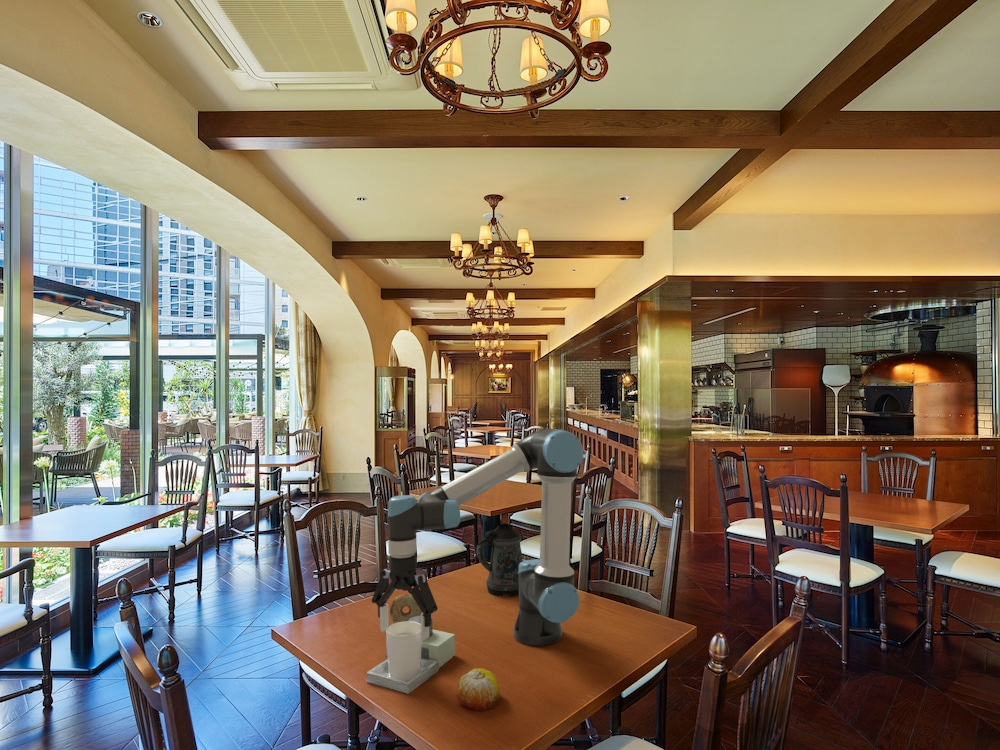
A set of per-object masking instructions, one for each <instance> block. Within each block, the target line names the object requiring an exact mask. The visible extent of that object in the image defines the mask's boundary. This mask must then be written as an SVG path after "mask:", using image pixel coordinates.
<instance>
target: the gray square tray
mask: <svg viewBox="0 0 1000 750" xmlns="http://www.w3.org/2000/svg"><path fill="white" fill-rule="evenodd" d="M439 669H440V667H439V662H438V661H434V660H430V659H426V658H422V657H421V669H420V673H419V674H418V675H417V676H415V677H414V678H412V679H411V680H409V681H402V680H399V679H395V678H391V677H389V670H388V658H386V659H385V660H384V661H382V662H381V663H379V664H377V665H376V666H374V667H373V668H371V669H370V670H368V671H367V672H366V673H365V674H366V679H365V680H366V683H369V684H373V685H376V686H380V687H382V688H387V689H390V690H394V691H396V692H399V693H400V692H401V693H404V694H406V695H408V694H410V693H412V692H413V691H414V690H416V689H417V688H418V687H419V686H420V685H422V684H424V683H425V682H426V681H427V680H428V679H430V678H431V677H432V676H434V675H435V674H436V673H438V672H439V671H440V670H439Z"/></svg>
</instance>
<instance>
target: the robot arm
mask: <svg viewBox="0 0 1000 750" xmlns="http://www.w3.org/2000/svg"><path fill="white" fill-rule="evenodd" d="M583 459H584V447H583V444H582V442H581V441H580V439H579V438H578V437H577V436H576V435H575V434H574V433H572V432H570V431H568V430H565V429H554V428H541V429H539V430H537V431H534V432H533V433H531V434H529V435H527V436H526V437H524V438H522V439H521V440H519V441H517V442H515V443H514V444H512V447H511V449H509V450H506V451H505V452H504V453H503V452H502V453H501V454H499V455H498V456H496V457H494V458H492V459H491V460H489V461H486V462H485V463H483V464H481V465H479V466H477V467H475V468H474V469H472V470H471V471H468V472H467V473H464V474H463V475H461V476H459V477H457V478H456V479H453V480H452V481H450V482H447V483H446V484H444V485H442V486H440V487H439V488H436V489H435V490H433V491H427V492H424V493H422V494H421V495H420V496H419V498H418V499H417V500H416V497H415V496H414V495H412V494H411V495H410V494H408V495H406V494H404V495H401V494H400V495H395V496H392V497H391V498H389V500H388V501H387V502H388V503H387V504H388V505H387V526H388V527H387V531H388V554H389V555H388V567H387V568H384V569H383V570H381V571H380V573H379V574H380V575H379V581H378V583H377V585H376V588H375V591H374V593H373V595H372V598H371V602H372V604H374V603H375V604H376V606H377V616H378V617H377V618H379V629H380V630H379V632H386V629H387V627H388V626H390V624H389V623H390V622H389V620H390V619H389V616H390V615H389V604H388V600H389V599H390V597H391V596H392V594H393V593H394V592H395V591H396V590H397V591H398V590H402V591H405V592H406V591H407V592H408V594H411V595H412V596H413V598H414V600H415V601H416V603H417V604H418V606H419V608H420V609H421V611H422V614H421V640H423V641H424V640H425V639H427V638H428V637H429V626H430V625H431V618H432V614H433V613H435V612H436V611H438V610H439V609H438V605H437V603H436V601H435V598H434V595H433V592H432V591H431V588H430V585H429V583H428V576H427V574H426V573H423V574H418V573H417V568H418V555H417V552H418V551H417V550H418V549H417V547H418V545H417V532H418V531H419V532H420V531H430V530H442V529H446V530H448V529H453V528H457V527H458V526H459V525H460V523H461V509H460V508H461V507H460V506H461V505H463V504H464V503H467V502H469V501H471V500H472V499H473V498H474V499H475V498H476V497H478V496H479V495H481V494H483V493H485V492H487V491H489V490H491V489H492V488H494V487H496V486H497V485H499V484H501V483H503V482H505V481H507V480H509V479H510V478H512V477H514V476H516V475H518V474H519V473H521V472H523V471H525V472H530V471H532V470H533V469H537V471H536V473H537V474H536V476H537V477H538V478H539V479H540V480H541V505H540V506H541V507H540V508H541V510H540V511H541V512H540V541H539V543H540V544H539V558H537V559H536V558H535V559H527V560H523V562H521V563H520V564H519V572H518V574H519V596H518V611H517V612H518V613H517V615H516V619H515V623H514V625H513V637H514V639H515V640H516V641H517V642H519V643H522V644H525V645H529V646H541V647H542V646H549V645H553V644H556V643H558V642H559V641H561V639H562V638H563V627H562V623H564V622H567V621H569V620H570V619H572V617H573V616H574V615H576V613H577V611H578V609H579V606H580V595H579V594H580V593H579V591H578V589H577V587H575V570H574V569H573V567H571V565H570V548H571V547H570V545H571V544H570V543H571V542H570V540H571V513H572V512H571V511H572V510H571V508H572V507H571V504H572V503H571V501H572V500H571V499H572V483H573V481H574V480H575V479H577V477H578V473H577V472H578V467H579V466H580V465H581V464H582V462H583ZM389 579H390V580H391V582H390V583H389V584H388V582H389ZM387 584H388V586H387ZM386 586H387V588H386ZM385 588H386V590H385Z"/></svg>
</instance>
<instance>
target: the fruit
mask: <svg viewBox="0 0 1000 750" xmlns="http://www.w3.org/2000/svg"><path fill="white" fill-rule="evenodd" d="M500 689H501V688H500V684H499V682H498V679H497V677H496V676H495V675H494V673H493V672H492V671H490V670H487V669H486V668H483V667H482V668H479V667H478V668H472V669H471V670H470V671H469V672H467V673H465V674H463V675H462V676H461V677H460V679H459V681H458V684H457V693H456V697H457V699H458V701H459V703H460V704H461V705H462V706H463V707H467V708H468V709H469V710H475V711H485V710H490V709H492V708H493V707H494V706H496V705H497V703H499V699H500V696H501V692H500V691H501V690H500Z"/></svg>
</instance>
